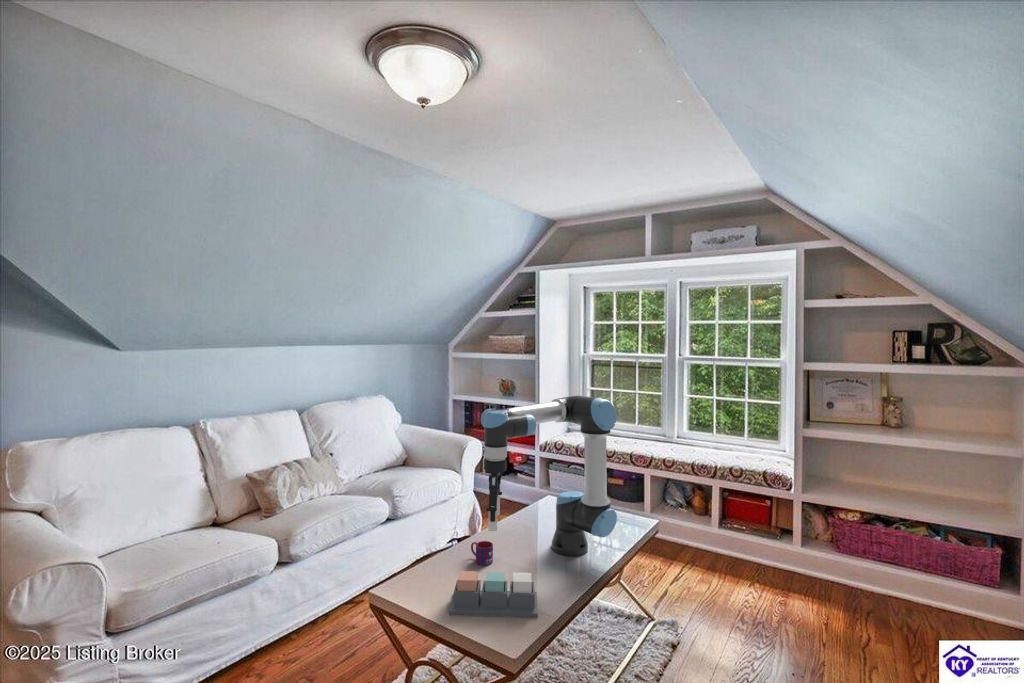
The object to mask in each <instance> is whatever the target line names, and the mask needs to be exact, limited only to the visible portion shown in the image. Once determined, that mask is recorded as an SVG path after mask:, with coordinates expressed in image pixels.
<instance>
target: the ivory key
mask: <svg viewBox="0 0 1024 683" xmlns="http://www.w3.org/2000/svg"><path fill="white" fill-rule="evenodd" d="M512 575H513V576H512V579H513V580H512V581H513V593H532V582H533V580H532V579H533V578H532V572H514V571H513V573H512Z"/></svg>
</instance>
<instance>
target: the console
mask: <svg viewBox="0 0 1024 683" xmlns="http://www.w3.org/2000/svg"><path fill="white" fill-rule="evenodd" d="M509 583H510V584H509V590H508V580H504V592H485V579H484V580H483V581H482V580H480V579H478V585H477V592H468V591H457V581H456V583H455V586H454V589H453V596H452V599H451V604H450V608H449V612H448V613H449V614H448V615H449V616H466V617H468V616H469V617H471V616H472V617H497V618H498V617H500V618H501V617H502V618H503V617H507V618H535V619H538V618H539V610H538V595H537V594H538V592H537V591H536V590H535V581H532V593H513V580H510V582H509ZM481 586H482V589H481Z"/></svg>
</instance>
